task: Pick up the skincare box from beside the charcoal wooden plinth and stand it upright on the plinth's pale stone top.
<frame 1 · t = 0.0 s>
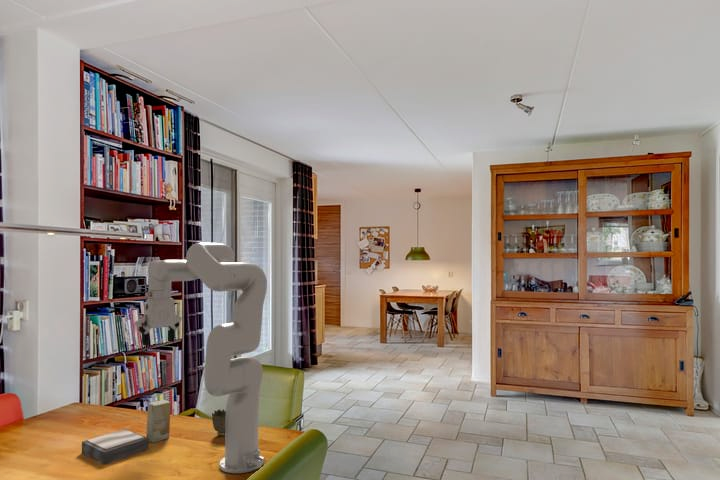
hand: (158, 343, 168), 31 cm above the table, fingers open, 9 cm apart
plinth: (115, 451, 150), on the table
cup: (222, 436, 164), on the table
skincare box: (158, 439, 160), on the table
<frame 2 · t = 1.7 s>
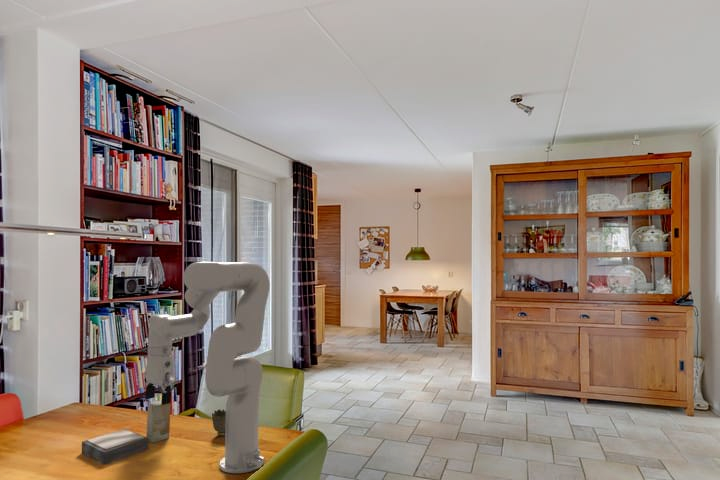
hand: (158, 401, 161), 13 cm above the table, fingers open, 9 cm apart
nothing on the table moved.
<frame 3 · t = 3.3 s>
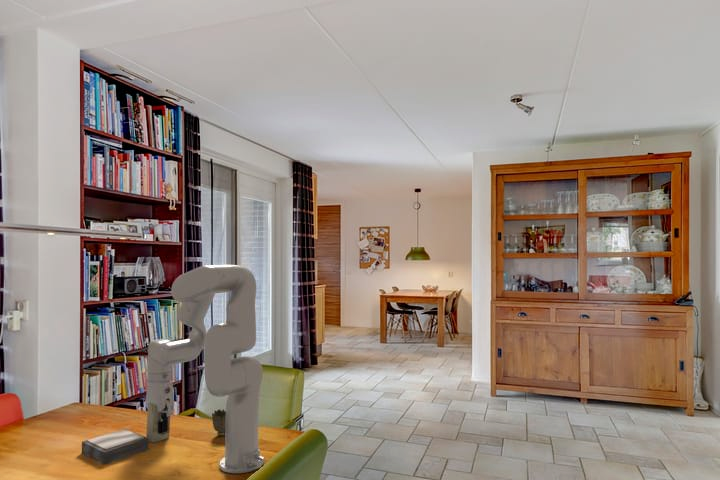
hand: (158, 430, 161), 3 cm above the table, fingers closed on skincare box, 4 cm apart
skincare box: (158, 439, 160), on the table, touching gripper
everything else where it was.
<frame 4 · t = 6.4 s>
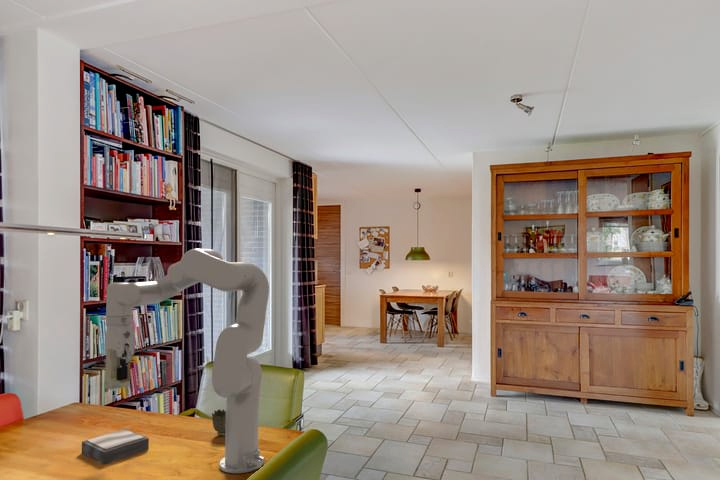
hand: (117, 378, 151), 23 cm above the table, fingers closed on skincare box, 4 cm apart
skincare box: (117, 387, 151), point 20 cm above the table, touching gripper
everything else where it was.
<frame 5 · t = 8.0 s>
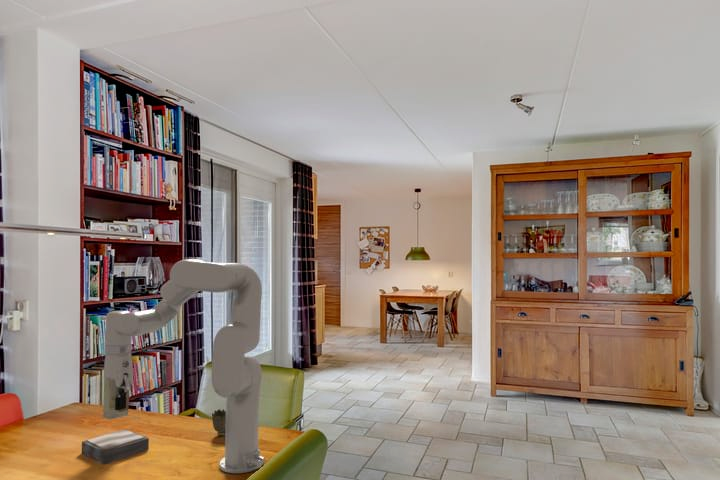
hand: (116, 407, 150), 14 cm above the table, fingers closed on skincare box, 4 cm apart
skincare box: (116, 416, 150), point 11 cm above the table, touching gripper
everything else where it was.
when the fingers open (8 cm above the table, at t = 9.4 s): skincare box drops 1 cm, resting on plinth.
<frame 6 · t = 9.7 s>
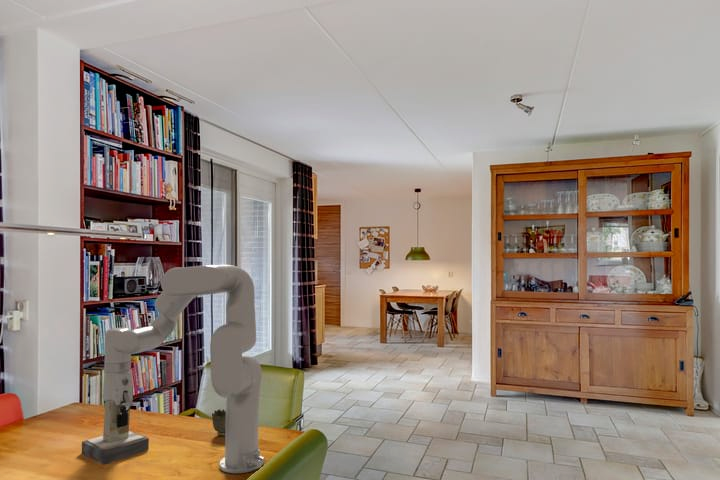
hand: (116, 423, 150), 9 cm above the table, fingers open, 6 cm apart
skincare box: (116, 439, 150), point 4 cm above the table, touching plinth
everything else where it was.
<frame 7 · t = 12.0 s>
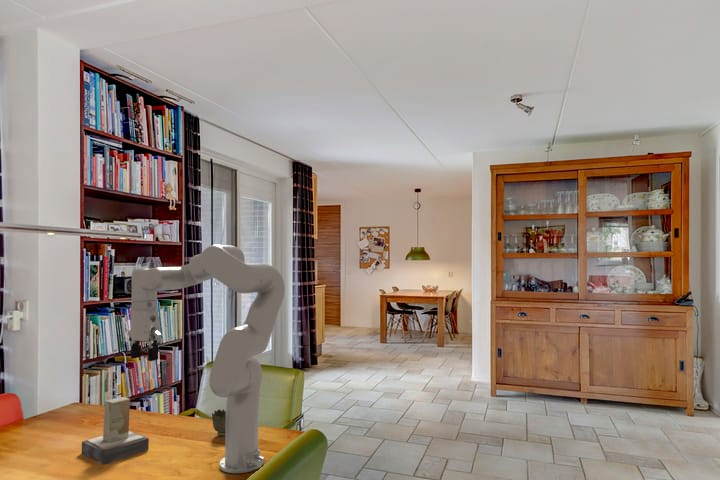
hand: (144, 359, 153), 29 cm above the table, fingers open, 9 cm apart
nothing on the table moved.
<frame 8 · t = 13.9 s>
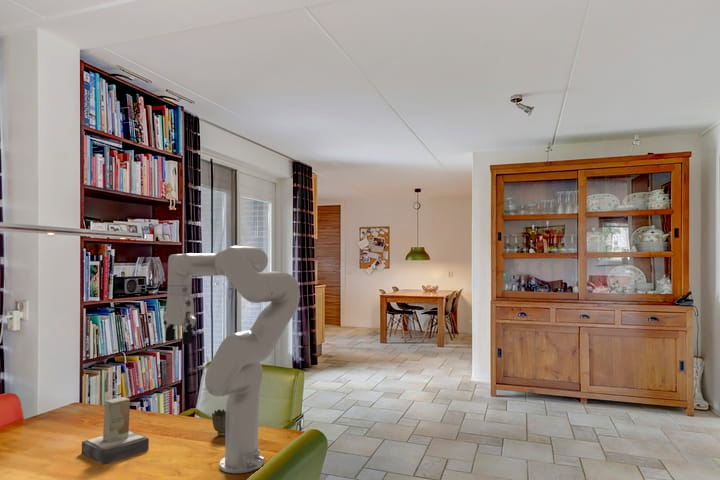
hand: (178, 342, 158), 33 cm above the table, fingers open, 9 cm apart
nothing on the table moved.
at the end: skincare box inside the target area on the plinth (0.1 cm from its centre), point 3.8 cm above the plinth's base; skincare box tilted 0°; the gripper is holding nothing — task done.
